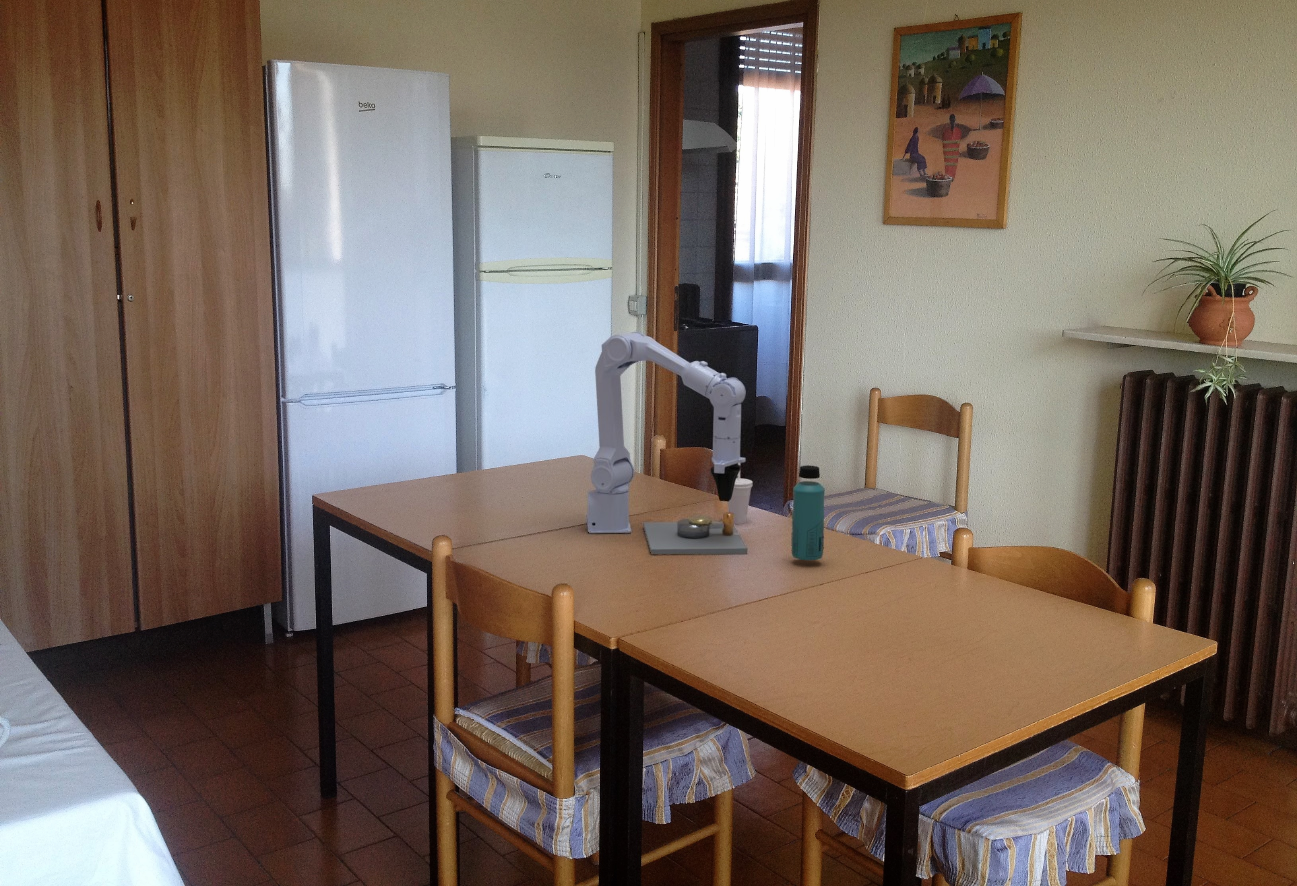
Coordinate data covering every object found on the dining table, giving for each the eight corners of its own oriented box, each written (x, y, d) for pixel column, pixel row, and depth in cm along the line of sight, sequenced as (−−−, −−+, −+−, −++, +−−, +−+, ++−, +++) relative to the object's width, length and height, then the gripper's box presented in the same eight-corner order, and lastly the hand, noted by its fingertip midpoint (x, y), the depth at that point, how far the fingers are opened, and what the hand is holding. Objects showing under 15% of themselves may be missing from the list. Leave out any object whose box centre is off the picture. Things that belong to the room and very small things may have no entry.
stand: (651, 555, 239) (651, 548, 239) (643, 527, 261) (643, 522, 260) (747, 553, 241) (747, 547, 240) (731, 526, 262) (731, 521, 262)
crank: (678, 538, 247) (679, 517, 246) (675, 529, 253) (675, 509, 253) (735, 537, 247) (736, 517, 247) (730, 529, 254) (731, 509, 254)
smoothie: (751, 519, 269) (753, 460, 266) (751, 526, 263) (753, 465, 260) (724, 518, 270) (725, 459, 267) (723, 525, 263) (724, 465, 261)
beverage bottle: (822, 568, 231) (826, 470, 227) (788, 566, 232) (792, 468, 228) (824, 559, 237) (827, 463, 233) (791, 557, 238) (794, 462, 235)
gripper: (738, 444, 235) (737, 509, 237) (752, 432, 248) (750, 493, 251) (704, 441, 236) (703, 506, 239) (719, 430, 250) (718, 491, 253)
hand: (725, 500), depth 245 cm, fingers closed
